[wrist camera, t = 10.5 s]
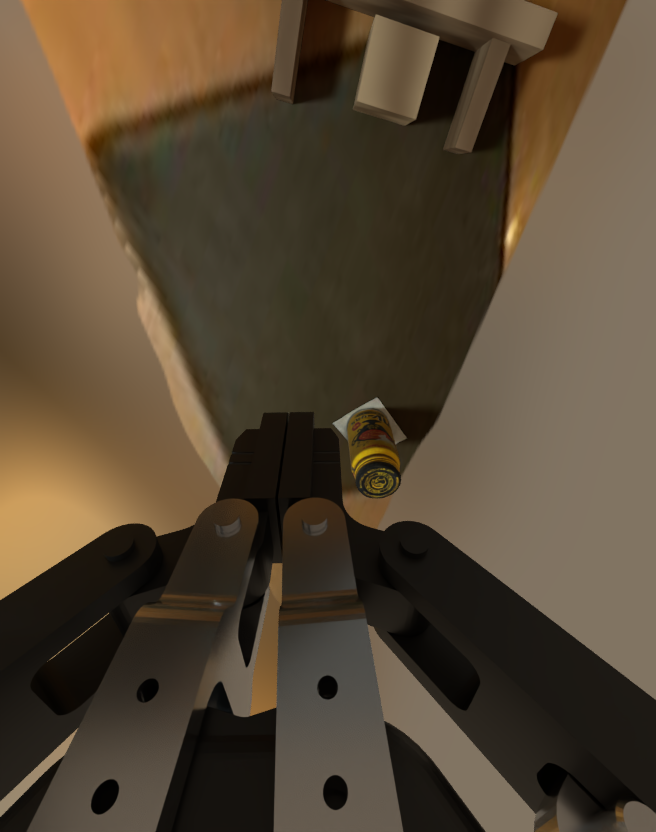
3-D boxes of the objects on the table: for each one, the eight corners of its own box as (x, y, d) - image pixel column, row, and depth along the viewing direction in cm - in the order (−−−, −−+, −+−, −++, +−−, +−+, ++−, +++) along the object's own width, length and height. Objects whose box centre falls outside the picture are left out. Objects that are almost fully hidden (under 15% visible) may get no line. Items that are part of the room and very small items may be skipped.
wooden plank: (251, 91, 33) (240, 80, 29) (265, -60, 28) (255, -100, 24) (478, 160, 36) (499, 159, 32) (526, 34, 31) (557, 13, 27)
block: (352, 109, 34) (356, 101, 30) (368, 35, 31) (375, 14, 27) (404, 126, 35) (415, 119, 30) (424, 54, 32) (439, 36, 28)
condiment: (376, 396, 50) (390, 451, 40) (406, 437, 54) (425, 497, 44) (332, 422, 53) (334, 481, 43) (364, 459, 57) (373, 521, 46)
